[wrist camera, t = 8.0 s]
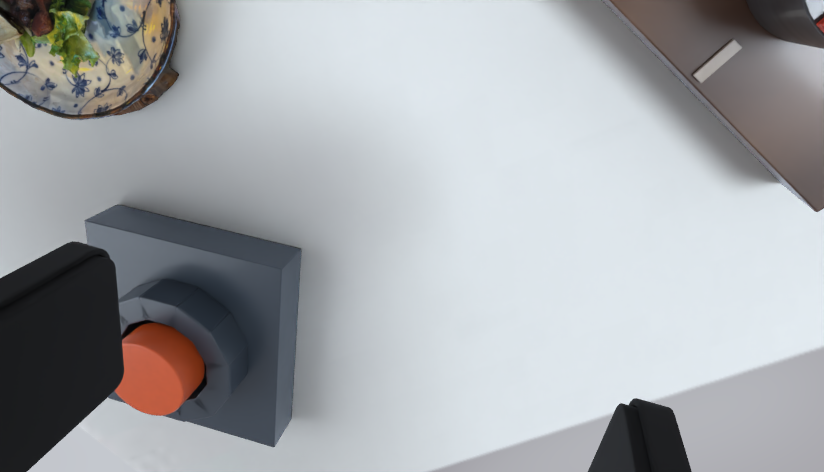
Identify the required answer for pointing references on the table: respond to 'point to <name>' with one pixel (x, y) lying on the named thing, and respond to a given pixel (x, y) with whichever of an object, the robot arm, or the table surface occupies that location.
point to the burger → (87, 54)
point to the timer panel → (743, 81)
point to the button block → (212, 312)
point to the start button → (159, 369)
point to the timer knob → (791, 19)
